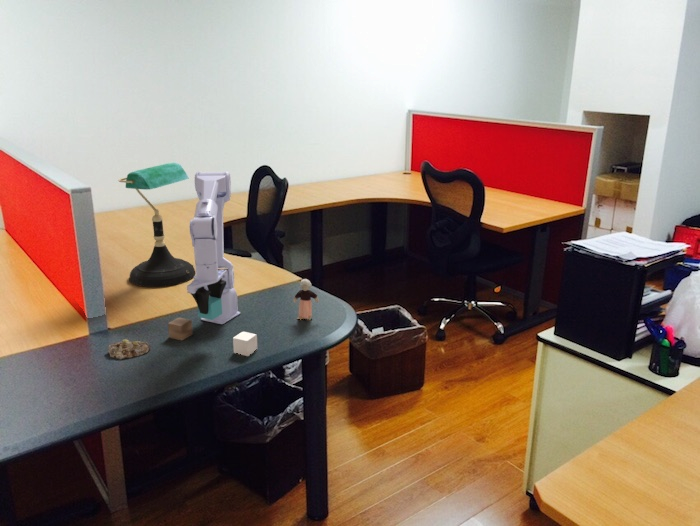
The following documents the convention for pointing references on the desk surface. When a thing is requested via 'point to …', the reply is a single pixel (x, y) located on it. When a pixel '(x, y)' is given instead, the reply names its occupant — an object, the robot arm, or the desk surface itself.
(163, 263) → the banker's lamp
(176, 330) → the walnut block
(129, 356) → the mineral rock
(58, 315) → the desk surface
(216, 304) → the teal block
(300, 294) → the grandmother figurine
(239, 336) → the white block
